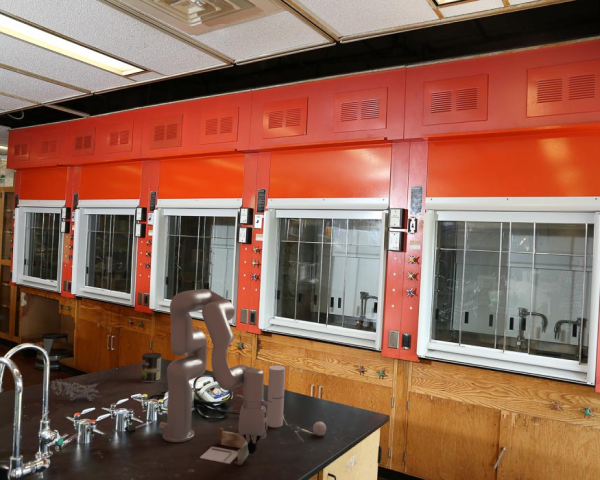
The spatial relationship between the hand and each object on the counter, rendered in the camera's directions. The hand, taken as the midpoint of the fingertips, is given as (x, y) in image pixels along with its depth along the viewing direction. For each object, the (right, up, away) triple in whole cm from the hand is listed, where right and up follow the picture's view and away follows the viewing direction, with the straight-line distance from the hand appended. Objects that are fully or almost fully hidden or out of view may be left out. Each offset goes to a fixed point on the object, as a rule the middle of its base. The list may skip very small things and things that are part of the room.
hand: (252, 452), depth 180 cm
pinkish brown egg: (+27, -4, +25) cm, 37 cm away
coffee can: (-64, +1, +87) cm, 108 cm away
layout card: (-12, -2, +2) cm, 12 cm away
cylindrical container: (+7, -3, +34) cm, 35 cm away
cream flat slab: (-3, -2, +1) cm, 4 cm away
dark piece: (-89, +2, +52) cm, 103 cm away
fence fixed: (-7, -2, +10) cm, 13 cm away
